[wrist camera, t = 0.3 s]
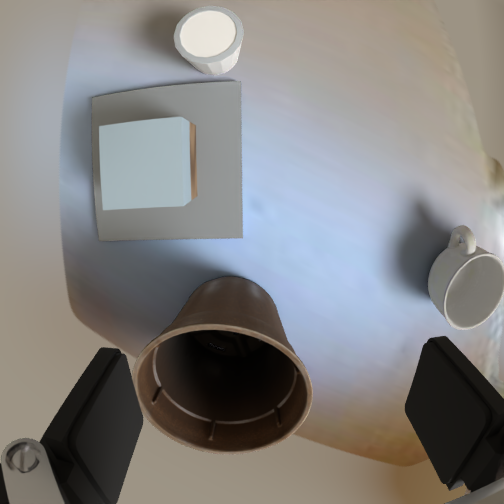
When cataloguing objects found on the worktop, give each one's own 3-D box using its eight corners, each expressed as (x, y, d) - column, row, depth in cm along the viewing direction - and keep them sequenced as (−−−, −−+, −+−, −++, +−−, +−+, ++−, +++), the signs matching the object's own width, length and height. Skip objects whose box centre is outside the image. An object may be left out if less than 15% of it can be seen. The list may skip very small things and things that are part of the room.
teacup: (472, 296, 41) (501, 318, 34) (417, 314, 42) (443, 342, 34) (474, 209, 37) (509, 221, 30) (415, 221, 38) (447, 236, 30)
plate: (96, 98, 33) (92, 97, 32) (240, 83, 33) (240, 81, 32) (102, 238, 38) (98, 241, 37) (242, 235, 38) (242, 238, 37)
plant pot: (159, 349, 43) (126, 431, 27) (182, 243, 38) (142, 299, 23) (268, 378, 44) (276, 465, 29) (309, 279, 40) (342, 351, 24)
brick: (115, 129, 29) (99, 126, 26) (189, 121, 29) (181, 116, 26) (118, 203, 32) (102, 210, 28) (191, 200, 32) (183, 206, 28)
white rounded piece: (256, 53, 32) (258, 32, 25) (213, 91, 33) (206, 76, 27) (216, 20, 31) (210, -6, 24) (174, 56, 32) (159, 36, 25)
